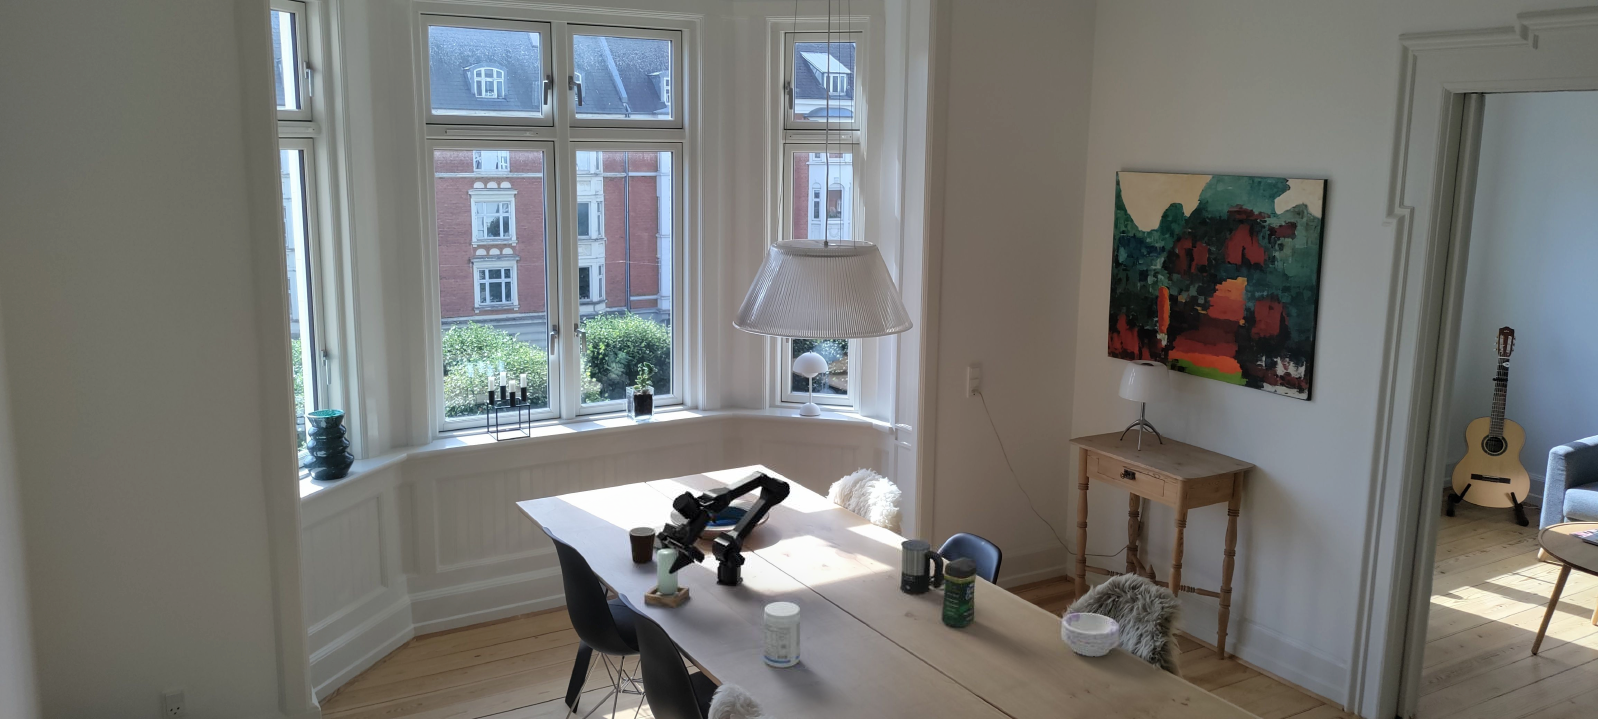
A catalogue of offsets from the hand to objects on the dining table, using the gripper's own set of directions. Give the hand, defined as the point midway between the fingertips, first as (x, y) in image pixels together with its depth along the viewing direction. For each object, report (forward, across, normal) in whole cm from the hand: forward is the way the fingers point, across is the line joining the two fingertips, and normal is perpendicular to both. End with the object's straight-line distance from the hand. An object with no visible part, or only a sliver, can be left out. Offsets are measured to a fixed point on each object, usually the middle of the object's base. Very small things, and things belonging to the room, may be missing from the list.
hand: (663, 570), depth 322 cm
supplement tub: (+5, +53, +9) cm, 54 cm away
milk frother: (-43, +40, +57) cm, 82 cm away
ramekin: (-12, -40, +26) cm, 49 cm away
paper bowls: (-45, +99, +59) cm, 124 cm away
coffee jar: (-34, +65, +48) cm, 88 cm away
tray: (+6, 0, +8) cm, 10 cm away
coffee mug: (-3, -33, +17) cm, 37 cm away
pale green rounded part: (+4, 0, +6) cm, 7 cm away
